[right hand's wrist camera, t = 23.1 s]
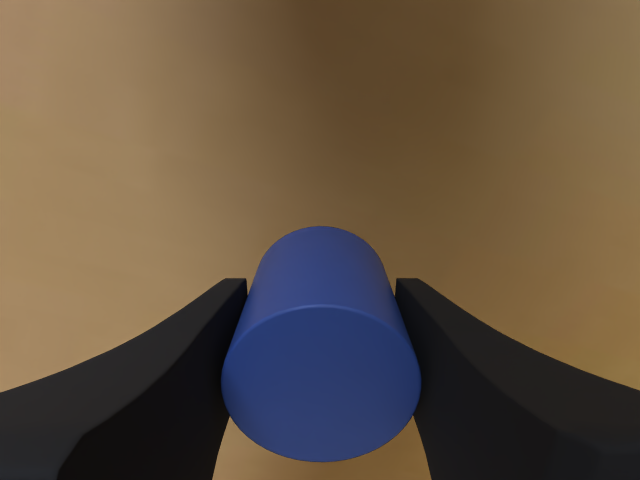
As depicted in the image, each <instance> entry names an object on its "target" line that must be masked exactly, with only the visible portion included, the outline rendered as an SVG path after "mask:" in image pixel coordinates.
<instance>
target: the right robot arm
mask: <svg viewBox="0 0 640 480" xmlns="http://www.w3.org/2000/svg"><path fill="white" fill-rule="evenodd" d="M247 297H248V294H247V282H246V278H225V279H224V280H222V281H220V282H219V283H217V284H216V285H215V286H213V287H212V288H210V289H209V290H208V291H206V292H205V293H203V294H202V295H201V296H199V297H198V298H197V299H195V300H194V301H192V302H191V303H190V304H188V305H187V306H185V307H184V308H182V309H181V310H179V311H178V312H176V313H175V314H173V315H172V316H170V317H168V318H167V319H165V320H164V321H162V322H161V323H159V324H158V325H156V326H154V327H153V328H151V329H149V330H148V331H146V332H144V333H142V334H141V335H139V336H137V337H135V338H133V339H131V340H129V341H127V342H126V343H124V344H122V345H120V346H118V347H116V348H114V349H112V350H110V351H107V352H105V353H103V354H100V355H98V356H96V357H94V358H91V359H89V360H87V361H84V362H82V363H80V364H78V365H75V366H73V367H71V368H68V369H66V370H63V371H61V372H58V373H55V374H53V375H50V376H47V377H45V378H42V379H39V380H36V381H34V382H31V383H28V384H25V385H22V386H19V387H16V388H13V389H10V390H7V391H4V392H1V393H0V480H212V478H213V473H214V469H215V464H216V460H217V456H218V452H219V448H220V445H221V441H222V438H223V435H224V432H225V429H226V426H227V423H228V420H229V417H230V415H229V413H228V411H227V409H226V406H225V404H224V400H223V396H222V391H221V374H222V368H223V365H224V361H225V358H226V355H227V352H228V350H229V347H230V344H231V341H232V338H233V336H234V333H235V330H236V327H237V325H238V322H239V319H240V316H241V313H242V311H243V308H244V305H245V302H246V300H247ZM395 299H396V302H397V305H398V308H399V310H400V313H401V316H402V319H403V321H404V324H405V327H406V330H407V332H408V335H409V338H410V341H411V343H412V346H413V349H414V351H415V354H416V357H417V360H418V363H419V366H420V371H421V378H422V380H421V393H420V398H419V402H418V405H417V407H416V410H415V412H414V414H413V416H414V419H415V422H416V425H417V428H418V431H419V434H420V437H421V440H422V443H423V447H424V450H425V454H426V457H427V462H428V466H429V470H430V475H431V479H432V480H640V391H639V390H636V389H633V388H631V387H628V386H625V385H622V384H619V383H616V382H613V381H610V380H607V379H604V378H601V377H599V376H596V375H593V374H591V373H588V372H585V371H583V370H580V369H577V368H575V367H573V366H570V365H568V364H565V363H563V362H561V361H558V360H556V359H553V358H551V357H549V356H546V355H544V354H542V353H540V352H538V351H536V350H533V349H531V348H529V347H527V346H525V345H523V344H521V343H519V342H517V341H515V340H514V339H512V338H510V337H508V336H506V335H504V334H502V333H500V332H499V331H497V330H495V329H493V328H492V327H490V326H488V325H487V324H485V323H483V322H482V321H480V320H478V319H477V318H475V317H474V316H472V315H471V314H469V313H468V312H466V311H464V310H463V309H461V308H460V307H459V306H457V305H456V304H454V303H453V302H451V301H450V300H448V299H447V298H446V297H444V296H443V295H441V294H440V293H439V292H437V291H436V290H434V289H433V288H432V287H430V286H429V285H427V284H426V283H424V282H423V281H421V280H420V279H418V278H397V279H396V291H395Z"/></svg>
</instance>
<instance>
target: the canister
mask: <svg viewBox="0 0 640 480" xmlns="http://www.w3.org/2000/svg"><path fill="white" fill-rule="evenodd" d="M421 380H422V378H421V371H420V366H419V363H418V360H417V357H416V354H415V351H414V349H413V346H412V343H411V341H410V338H409V335H408V332H407V330H406V327H405V324H404V321H403V319H402V316H401V313H400V310H399V308H398V305H397V302H396V299H395V297H394V294H393V291H392V288H391V286H390V283H389V280H388V277H387V275H386V272H385V269H384V266H383V264H382V262H381V260H380V258H379V256H378V255H377V253H376V252H375V251H374V249H373V248H372V247H371V246H370V245H369V244H368V243H366V242H365V241H364V240H363V239H361V238H360V237H358V236H356V235H355V234H353V233H350V232H348V231H346V230H342V229H339V228H334V227H325V226H316V227H308V228H303V229H300V230H297V231H294V232H291V233H289V234H287V235H285V236H284V237H282V238H281V239H279V240H278V241H277V242H276V243H274V244H273V245H272V246H271V247H270V248H269V250H268V251H267V252H266V253H265V255H264V256H263V258H262V260H261V262H260V264H259V266H258V269H257V272H256V275H255V277H254V280H253V283H252V286H251V288H250V291H249V294H248V297H247V300H246V302H245V305H244V308H243V311H242V313H241V316H240V319H239V322H238V325H237V327H236V330H235V333H234V336H233V338H232V341H231V344H230V347H229V350H228V352H227V355H226V358H225V361H224V365H223V368H222V374H221V391H222V396H223V400H224V404H225V406H226V409H227V411H228V413H229V415H230V416H231V418H232V420H233V421H234V423H235V424H236V425H237V426H238V428H239V429H240V430H241V431H242V432H243V433H244V434H245V435H246V436H247V437H248V438H250V439H251V440H252V441H254V442H255V443H256V444H258V445H260V446H262V447H263V448H265V449H267V450H269V451H271V452H273V453H276V454H278V455H281V456H284V457H287V458H292V459H296V460H301V461H309V462H333V461H341V460H347V459H351V458H355V457H358V456H361V455H364V454H367V453H369V452H371V451H373V450H375V449H378V448H379V447H381V446H383V445H384V444H386V443H387V442H389V441H390V440H391V439H393V438H394V437H395V436H396V435H397V434H398V433H399V432H400V431H401V430H402V429H403V428H404V427H405V426H406V425H407V423H408V422H409V420H410V419H411V417H412V416H413V414H414V412H415V410H416V407H417V405H418V402H419V398H420V393H421Z"/></svg>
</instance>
